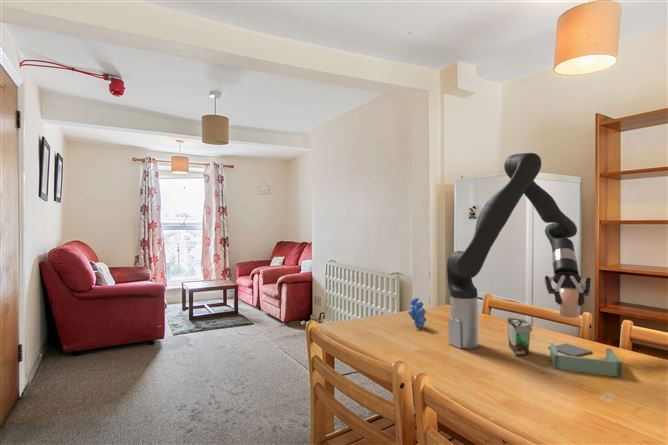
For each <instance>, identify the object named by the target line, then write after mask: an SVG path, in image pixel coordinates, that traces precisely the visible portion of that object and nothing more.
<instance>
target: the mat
mask: <svg viewBox="0 0 668 445" xmlns="http://www.w3.org/2000/svg"><path fill="white" fill-rule="evenodd" d="M555 346H556V349H557V352H558V353H560V354H562V355H568V356H577V357H582V356H585V355H590V354H593V350H590V349H587V348H584V347H579V346H577V345H573V344H570V343H567V342H566V343H561V344H555ZM547 348H548V350H550V346H548V347H547Z"/></svg>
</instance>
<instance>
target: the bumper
mask: <svg viewBox="0 0 668 445" xmlns="http://www.w3.org/2000/svg"><path fill="white" fill-rule="evenodd" d="M549 347H550V349H549V356H550V359H551V361H552V364H553V369H555V370H561V371H569V372H576V373H577V372H579V373H587V374H594V375H601V376H611V377H616V378H617V377H618V378H623V362H622V360H620V359H619V358H618V356H617V355H616V354H615V352H614V350H612V348H608V347H607V348H606V349H605V350H606V351H605V353H606V354H605V356H606V359H605V358H604V359H602V358H596V357H595V358H593V357H585V356H584V357H583V356H569V355H566V354H559V352H557V349H556V344H555V342H549Z"/></svg>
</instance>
